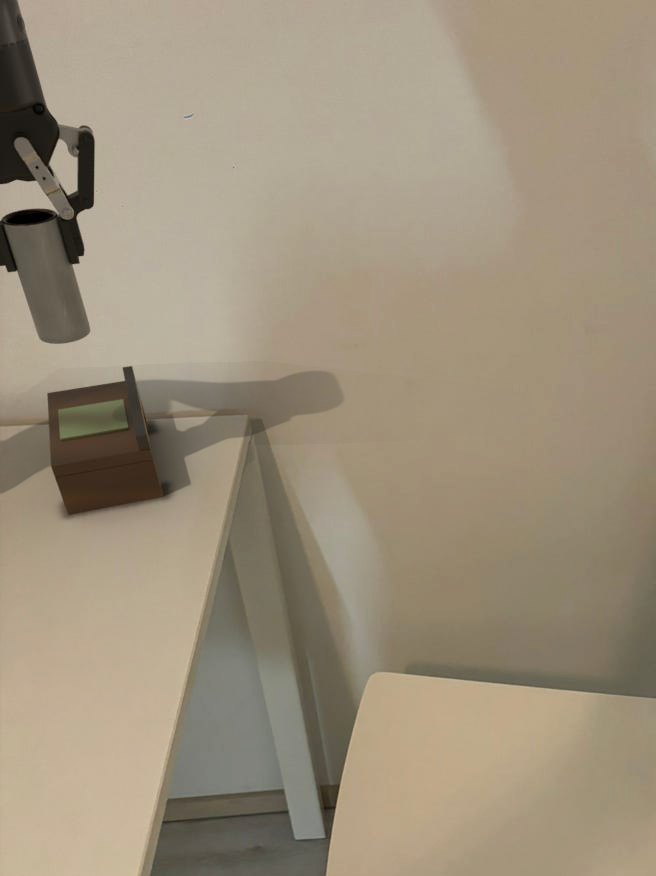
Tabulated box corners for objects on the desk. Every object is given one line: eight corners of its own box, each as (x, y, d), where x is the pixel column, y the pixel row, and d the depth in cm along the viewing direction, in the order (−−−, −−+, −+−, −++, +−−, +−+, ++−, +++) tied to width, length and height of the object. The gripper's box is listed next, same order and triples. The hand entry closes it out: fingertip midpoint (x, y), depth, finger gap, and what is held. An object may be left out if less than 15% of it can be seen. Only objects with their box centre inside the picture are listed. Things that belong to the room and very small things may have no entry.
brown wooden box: (64, 443, 102) (42, 379, 97) (148, 429, 104) (132, 365, 100) (70, 520, 91) (45, 452, 86) (164, 502, 93) (146, 434, 88)
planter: (28, 342, 84) (-11, 222, 78) (56, 322, 88) (20, 206, 81) (74, 346, 84) (38, 226, 77) (100, 326, 87) (68, 209, 80)
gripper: (71, 21, 75) (125, 242, 86) (-126, 33, 71) (-43, 261, 82) (74, 36, 70) (132, 269, 81) (-138, 49, 66) (-48, 291, 77)
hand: (43, 264), depth 82 cm, fingers closed on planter, 4 cm apart
